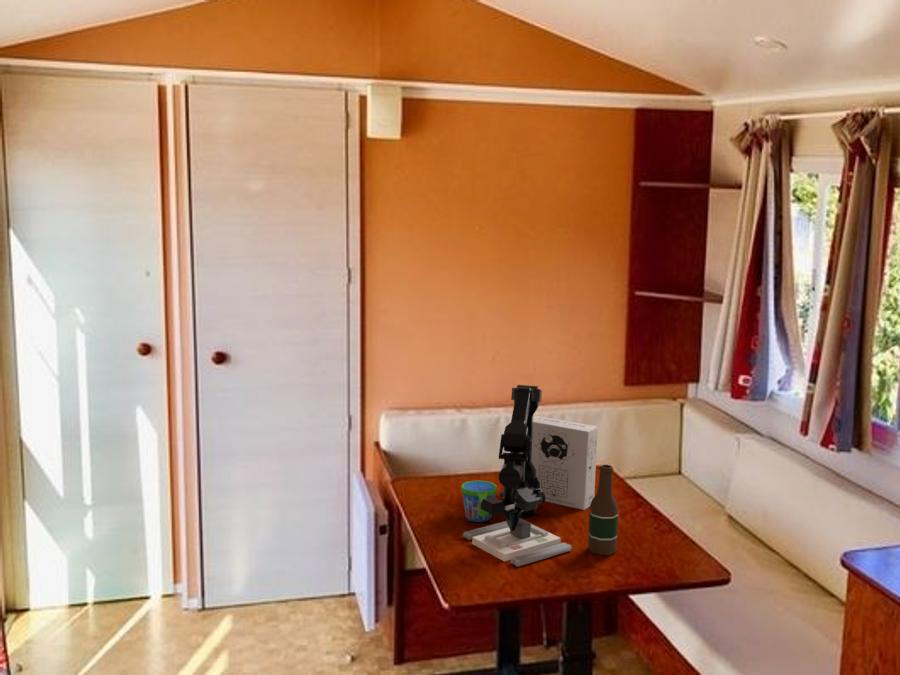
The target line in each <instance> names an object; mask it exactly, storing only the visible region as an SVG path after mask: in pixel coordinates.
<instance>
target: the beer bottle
mask: <svg viewBox="0 0 900 675" xmlns="http://www.w3.org/2000/svg"><path fill="white" fill-rule="evenodd" d="M598 469H599V479H598V487H597V491H596V494H595V495H594V498H593V500H592V502H591V504H590V506H589V516H588V518H589V519H588V535H587V536H588V539H587V548H588V550H589V552H590V551H591V552H592V553H591V552H590V553H591V554H594V553H596V554H595V555H597V554H599V555H598V556H600V555H605V556H612V555H613V554H615V553H616V552H617V546H618V545H617V543H618V530H619V529H618V528H619V505H618V502H617V500H616V498H615V496H614V493H613V472H614V468H613V466H612V465H610V464H601V465H599V468H598ZM614 552H615V553H614ZM612 553H613V554H612ZM611 554H612V555H611Z"/></svg>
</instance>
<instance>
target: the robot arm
mask: <svg viewBox="0 0 900 675" xmlns="http://www.w3.org/2000/svg"><path fill="white" fill-rule="evenodd" d="M542 393H543V392H542V389H540V388H539V386H538V385H524V384H517V385H516V387H512V388H511V401H513V411H512V414H511V419H510V422H509V423H508V424H507V425H506V426H505V427H504V432H503V433H502V434H501V436H500V443H499V452H498V460H503V461H504V462H503V465H502V467H501V469H500V471H499V474H498V480H499V483H500V485H502V486H503V488H502V489H503V490H502V491H501V492H500V493H499V497H502V499H498V498H496V497H495V498H494V497H490V498H486V499H483V500H482V501H481V508H480V509H482V510H484V511H486V512H488V513H490V514H492V515H491V516H496V515H500V514H502V515H503V517H504V519H505V521H506V522H507V524H508V526H509V529H510V530H511V531H514V530H515V528H516V526H517V523H518V521H519V518H521V519H525V518H528V517H531V516H536V515H538V513H539V512H538V511H536V509H537V508H538V505H540V504H543V503H545V502H546V501H545V494H544V492H543V490H542V489H540V482H539V481H538V477H536V469H535V467H534V466H533V464H532V462H531V458H532V434H533V417H534V414H535V413H536V411H537V410H538V408H539V406H540V403H541V402H542V395H543V394H542Z"/></svg>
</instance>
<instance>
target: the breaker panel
mask: <svg viewBox="0 0 900 675" xmlns="http://www.w3.org/2000/svg"><path fill="white" fill-rule="evenodd" d="M561 539H562V538H561V537H560V536H557V535H555V534H553V533H551V532H549V531H547V530H545V529H542V528H540V527H539V526H536V525H534V524H532V523H531V530H530V537H529V538H525V539H520V538H518V537H516V536H514V535H512V534H510V529H509V527H508V528H504V529H500V530H496V531H493V532H489V533H485V534H482V535H478V536H474V537H472V541H471V543H472V545H473V546H475V547H477V548H479V549H481V550H482V551H484V552H486V553H488V554H490V555H492V556H494V557H495V558H498V559H499V560H501V561H503V562H504V563H505V562H507V561H510V560H511V558H513V557H516V556H520V555H523V554H527V553H530V552H533V551H537V550H540V549H544V548H547V547H550V546H554V545H557V544H560V543H562V542H561Z"/></svg>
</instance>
